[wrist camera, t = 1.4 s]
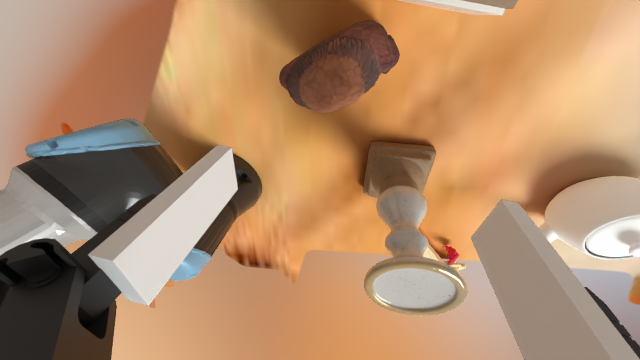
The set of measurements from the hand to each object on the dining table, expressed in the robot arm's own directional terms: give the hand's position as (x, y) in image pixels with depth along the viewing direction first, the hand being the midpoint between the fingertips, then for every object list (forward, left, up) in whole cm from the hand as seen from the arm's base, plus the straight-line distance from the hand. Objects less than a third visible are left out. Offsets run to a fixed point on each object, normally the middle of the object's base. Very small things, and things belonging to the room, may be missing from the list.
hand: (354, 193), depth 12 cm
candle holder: (+10, -15, -29) cm, 34 cm away
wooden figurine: (-3, +2, -29) cm, 29 cm away
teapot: (+42, -13, -29) cm, 52 cm away
